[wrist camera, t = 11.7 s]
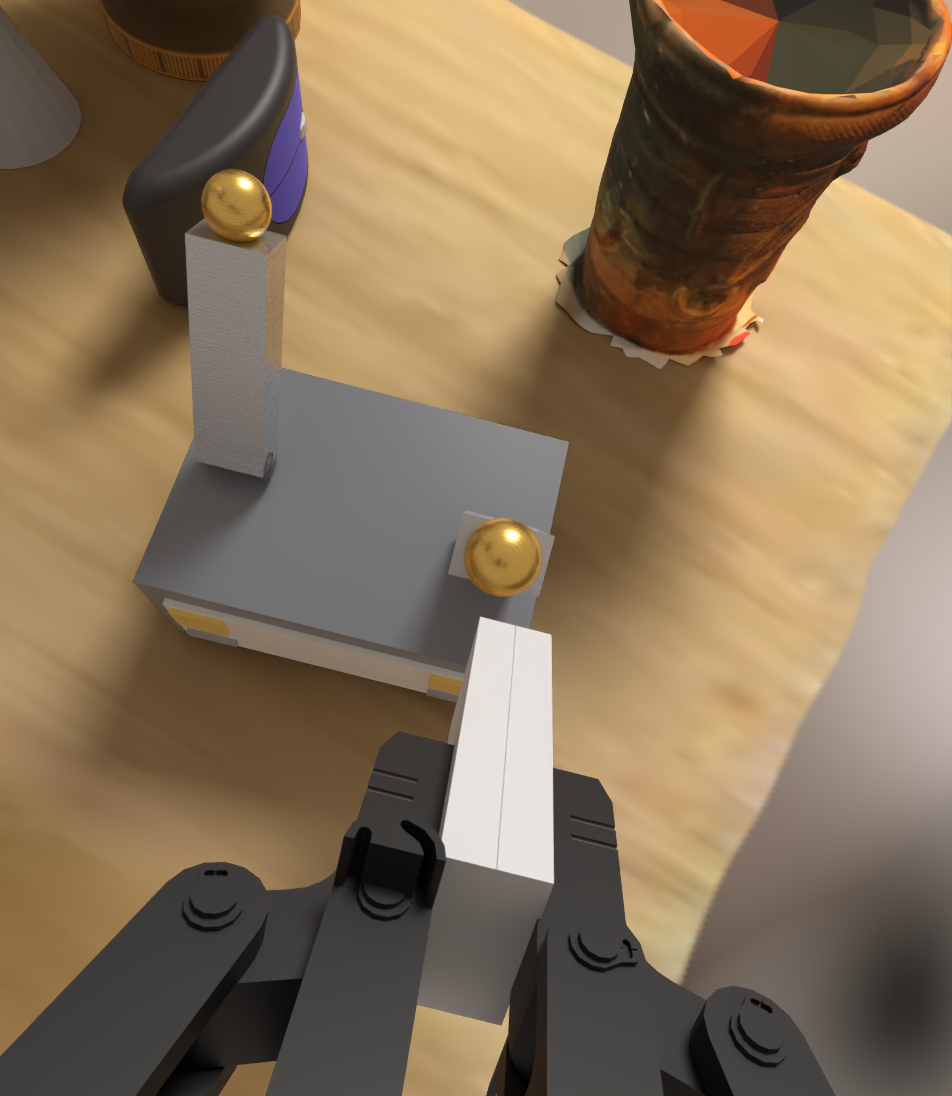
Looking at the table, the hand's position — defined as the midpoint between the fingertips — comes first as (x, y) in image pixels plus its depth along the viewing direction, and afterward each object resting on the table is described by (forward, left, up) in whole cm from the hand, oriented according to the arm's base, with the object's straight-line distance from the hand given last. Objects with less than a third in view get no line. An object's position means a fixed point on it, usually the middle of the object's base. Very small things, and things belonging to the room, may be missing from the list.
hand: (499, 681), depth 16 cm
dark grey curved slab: (-21, +31, -25) cm, 45 cm away
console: (-6, +10, -25) cm, 28 cm away
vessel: (+7, +34, -25) cm, 43 cm away
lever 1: (-12, +10, -17) cm, 23 cm away
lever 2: (0, +10, -17) cm, 20 cm away
